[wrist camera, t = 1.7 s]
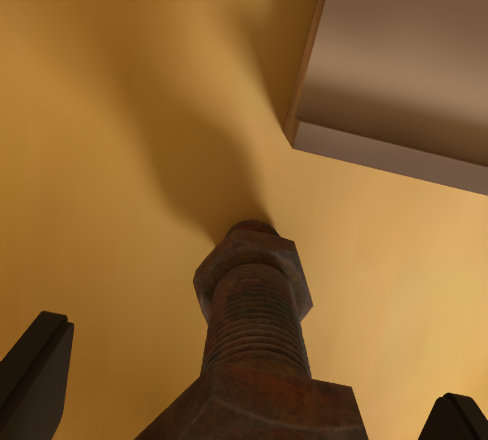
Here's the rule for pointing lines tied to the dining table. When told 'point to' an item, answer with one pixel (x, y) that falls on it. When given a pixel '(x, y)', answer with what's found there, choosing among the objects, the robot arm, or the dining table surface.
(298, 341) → the bolt
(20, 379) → the robot arm
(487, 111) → the brown wooden long tray
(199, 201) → the dining table surface
